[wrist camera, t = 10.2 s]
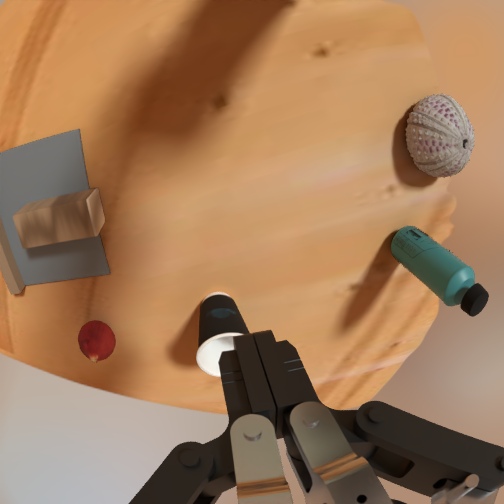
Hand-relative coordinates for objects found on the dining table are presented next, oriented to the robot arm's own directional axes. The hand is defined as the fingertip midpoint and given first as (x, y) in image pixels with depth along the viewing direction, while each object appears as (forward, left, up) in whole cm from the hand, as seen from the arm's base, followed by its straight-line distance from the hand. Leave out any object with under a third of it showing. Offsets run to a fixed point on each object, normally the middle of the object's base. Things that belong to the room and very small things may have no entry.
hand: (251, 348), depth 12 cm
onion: (+21, -19, -29) cm, 41 cm away
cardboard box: (+2, -13, -26) cm, 29 cm away
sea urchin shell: (-5, +35, -29) cm, 46 cm away
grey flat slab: (+2, -22, -29) cm, 36 cm away
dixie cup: (+20, 0, -29) cm, 35 cm away
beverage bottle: (+13, +31, -29) cm, 45 cm away
